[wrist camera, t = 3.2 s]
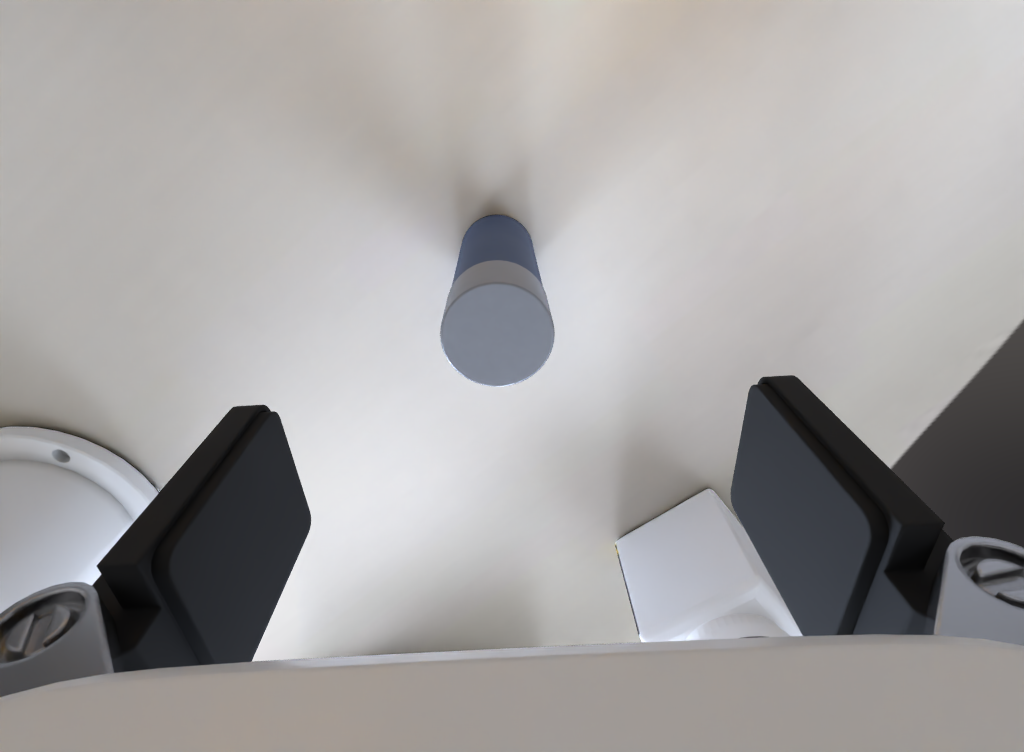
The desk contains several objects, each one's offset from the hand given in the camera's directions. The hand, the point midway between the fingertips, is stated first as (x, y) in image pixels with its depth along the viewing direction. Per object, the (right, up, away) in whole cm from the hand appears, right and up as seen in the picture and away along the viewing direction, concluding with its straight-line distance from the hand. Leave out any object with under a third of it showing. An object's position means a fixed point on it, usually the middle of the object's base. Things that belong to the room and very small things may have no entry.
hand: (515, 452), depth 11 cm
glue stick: (-1, +7, +14) cm, 16 cm away
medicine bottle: (+11, -9, +24) cm, 28 cm away
